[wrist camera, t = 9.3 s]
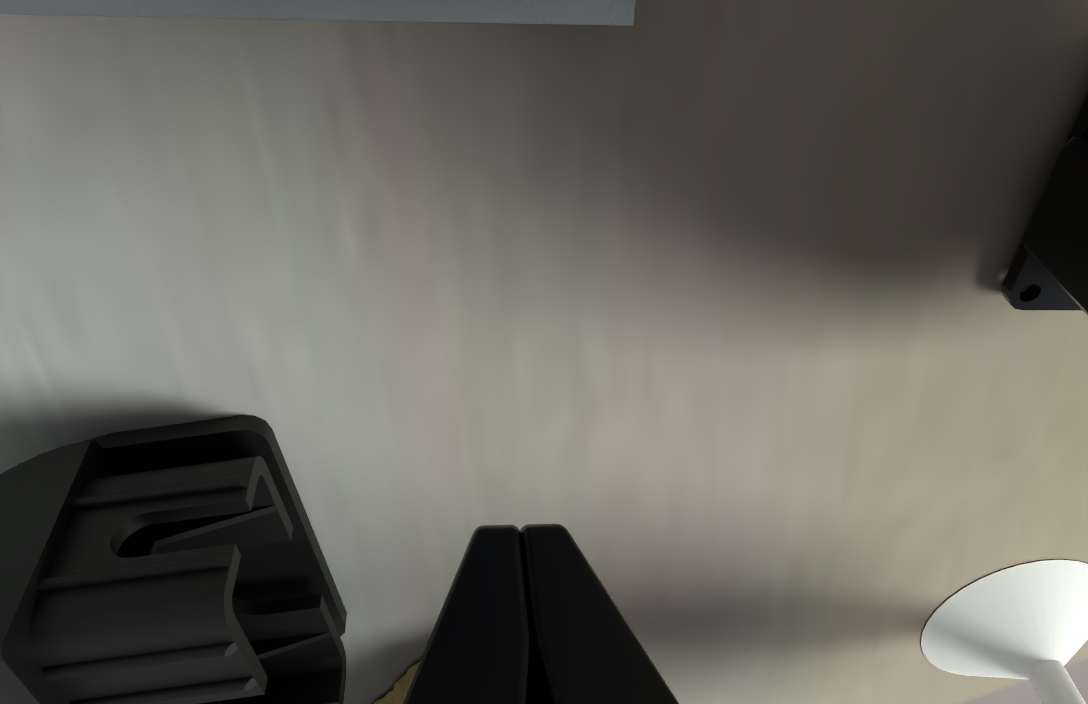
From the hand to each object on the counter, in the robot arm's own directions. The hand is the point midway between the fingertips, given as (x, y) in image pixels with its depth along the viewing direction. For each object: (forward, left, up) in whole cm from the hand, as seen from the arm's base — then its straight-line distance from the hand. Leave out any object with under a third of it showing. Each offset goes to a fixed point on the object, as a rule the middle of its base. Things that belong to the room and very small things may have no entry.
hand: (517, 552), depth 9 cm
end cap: (+8, +14, -12) cm, 20 cm away
